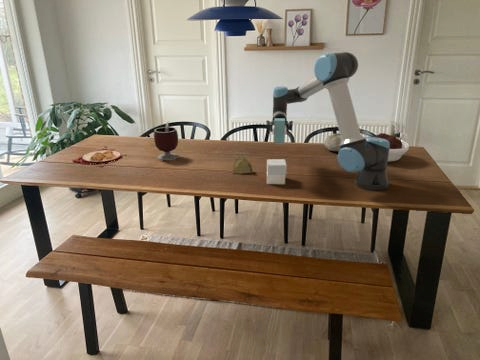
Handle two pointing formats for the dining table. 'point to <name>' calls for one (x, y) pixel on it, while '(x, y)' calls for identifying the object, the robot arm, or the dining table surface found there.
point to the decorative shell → (333, 142)
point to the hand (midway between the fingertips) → (279, 131)
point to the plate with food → (99, 156)
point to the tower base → (275, 179)
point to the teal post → (279, 130)
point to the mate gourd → (166, 141)
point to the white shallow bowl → (394, 146)
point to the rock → (242, 165)
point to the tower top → (276, 167)
